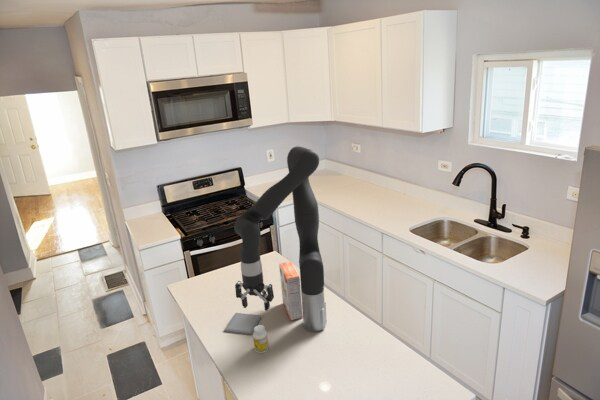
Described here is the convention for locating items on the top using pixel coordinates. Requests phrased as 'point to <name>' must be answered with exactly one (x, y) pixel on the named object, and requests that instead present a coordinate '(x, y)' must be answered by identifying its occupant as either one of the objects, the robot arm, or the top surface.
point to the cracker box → (291, 290)
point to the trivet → (243, 323)
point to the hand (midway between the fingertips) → (256, 308)
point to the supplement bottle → (260, 339)
